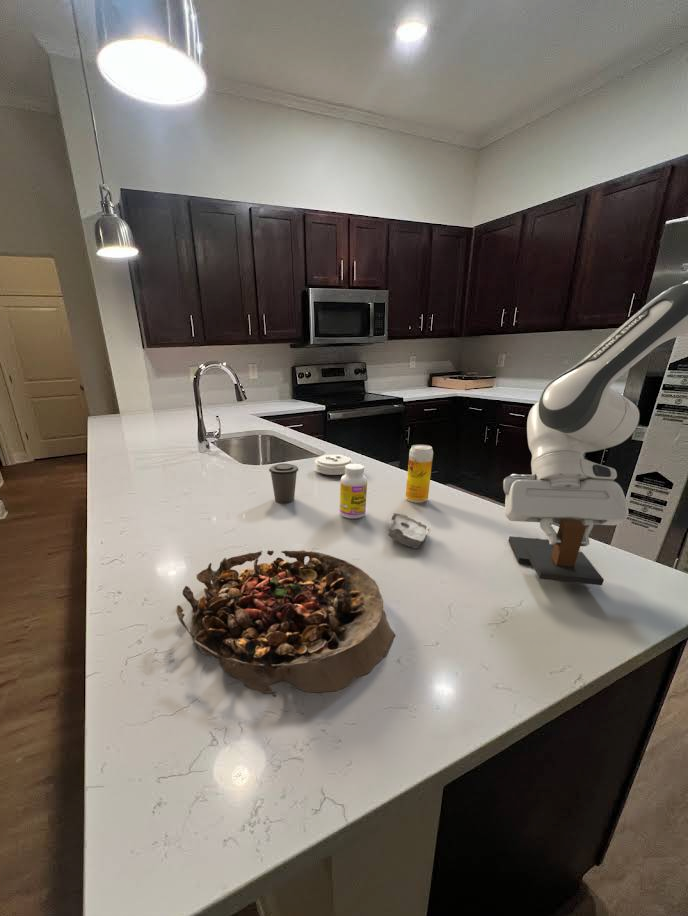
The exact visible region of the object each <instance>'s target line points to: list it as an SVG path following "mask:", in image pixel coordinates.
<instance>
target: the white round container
mask: <svg viewBox="0 0 688 916" xmlns="http://www.w3.org/2000/svg"><path fill="white" fill-rule="evenodd" d="M314 464H315V466H314V470H315V471H316V472H317V473H320V474H323V475H328V476H329V475H331V476H333V475H334V476H337V475H345V474H346V472H345V466H346V465H348V464H354V460H353V459H351V458H350V457H349V456H347V455H343V454H325V455H321V456H318V457H317V458H316V459H315V460H314Z"/></svg>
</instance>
